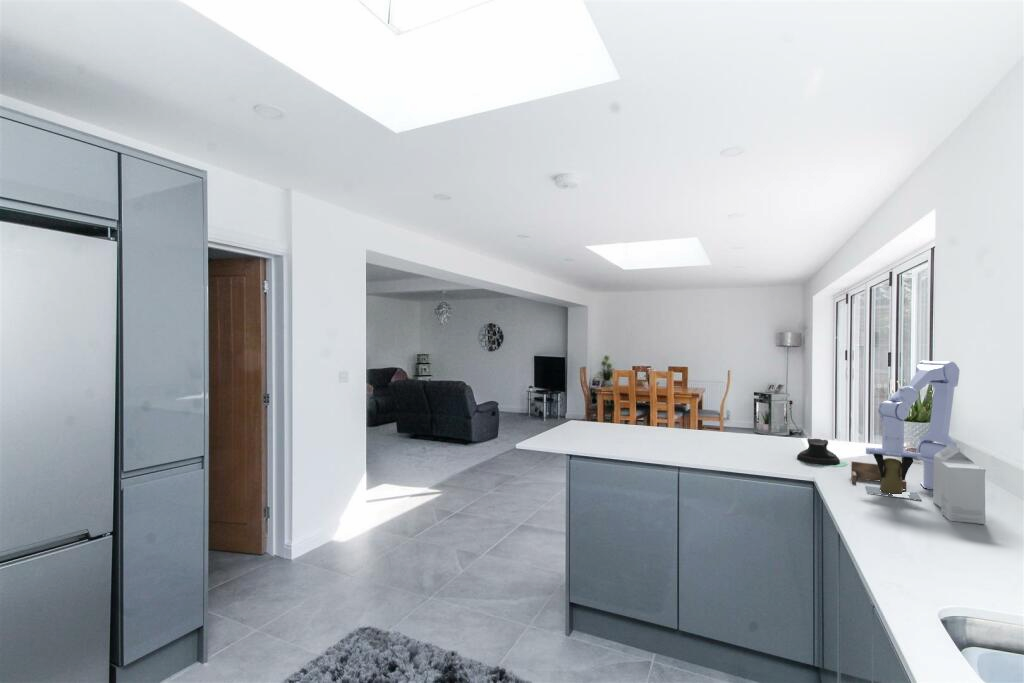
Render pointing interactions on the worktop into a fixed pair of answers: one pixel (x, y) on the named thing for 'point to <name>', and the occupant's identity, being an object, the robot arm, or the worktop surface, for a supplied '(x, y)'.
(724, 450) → the worktop surface
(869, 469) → the walnut bay
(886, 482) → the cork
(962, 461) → the milk carton
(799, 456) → the black knob handle
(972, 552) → the worktop surface
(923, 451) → the robot arm
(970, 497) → the skincare box
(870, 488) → the slate mat
